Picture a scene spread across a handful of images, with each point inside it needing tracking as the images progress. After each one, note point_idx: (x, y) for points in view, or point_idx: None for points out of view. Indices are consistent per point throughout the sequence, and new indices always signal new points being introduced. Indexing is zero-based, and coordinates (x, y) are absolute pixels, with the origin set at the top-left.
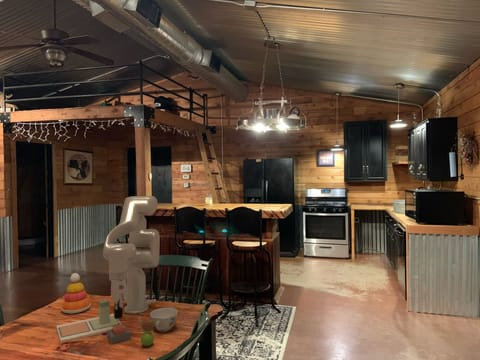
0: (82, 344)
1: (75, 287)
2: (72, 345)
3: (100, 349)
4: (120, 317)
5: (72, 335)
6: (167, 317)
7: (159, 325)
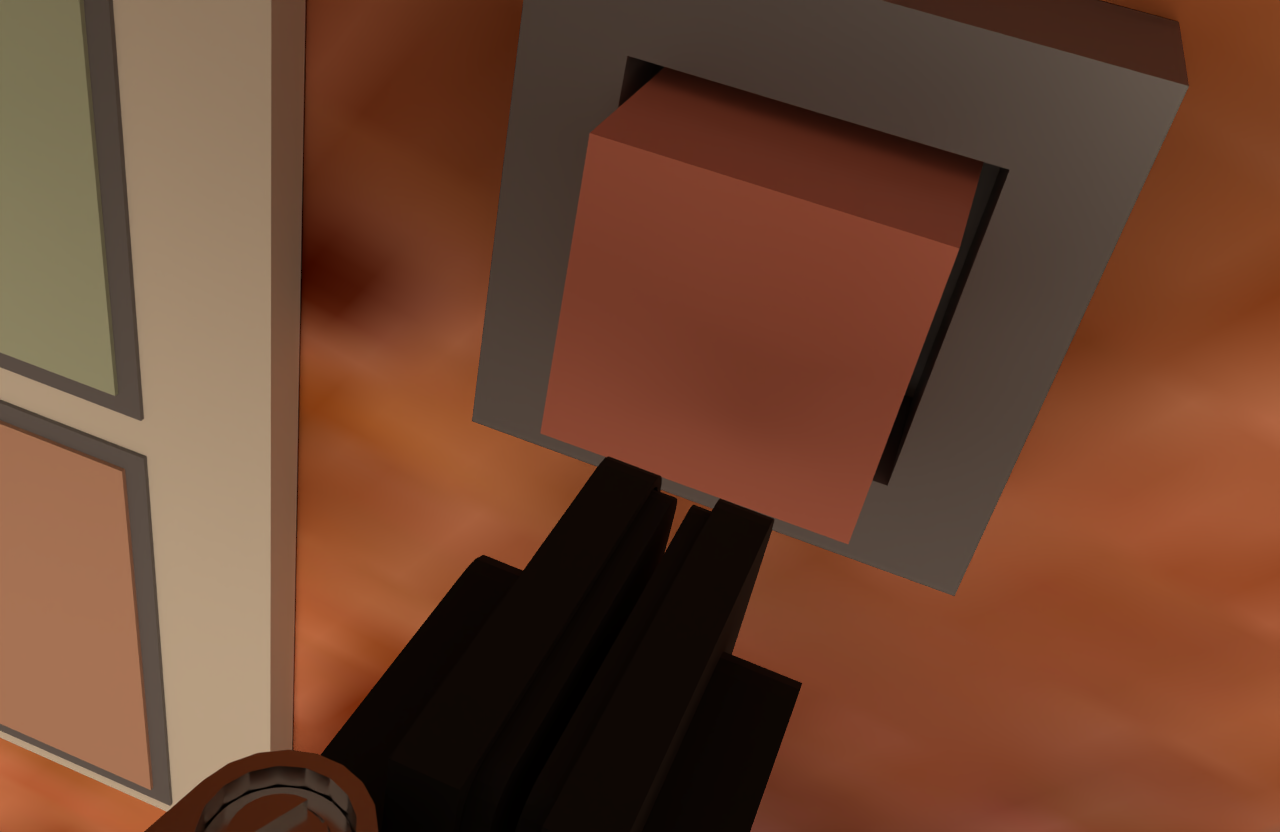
0: None
1: None
2: None
3: (995, 715)
4: (749, 593)
5: (178, 698)
6: None
7: None
